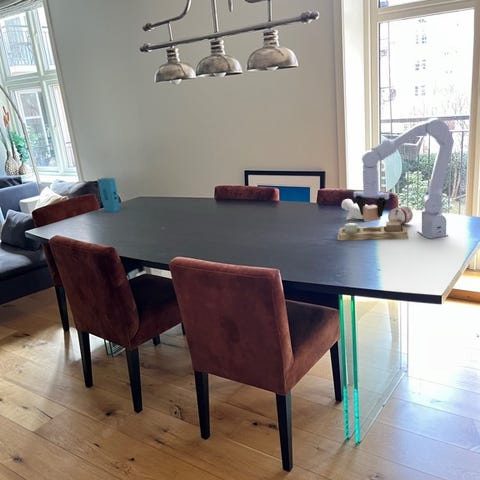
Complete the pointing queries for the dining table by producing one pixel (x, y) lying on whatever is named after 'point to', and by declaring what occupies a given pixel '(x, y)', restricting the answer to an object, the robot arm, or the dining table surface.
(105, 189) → the block
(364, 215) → the terracotta block
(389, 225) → the seated pieces
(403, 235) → the oak tray
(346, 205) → the white figurine
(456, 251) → the dining table surface
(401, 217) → the soda can
